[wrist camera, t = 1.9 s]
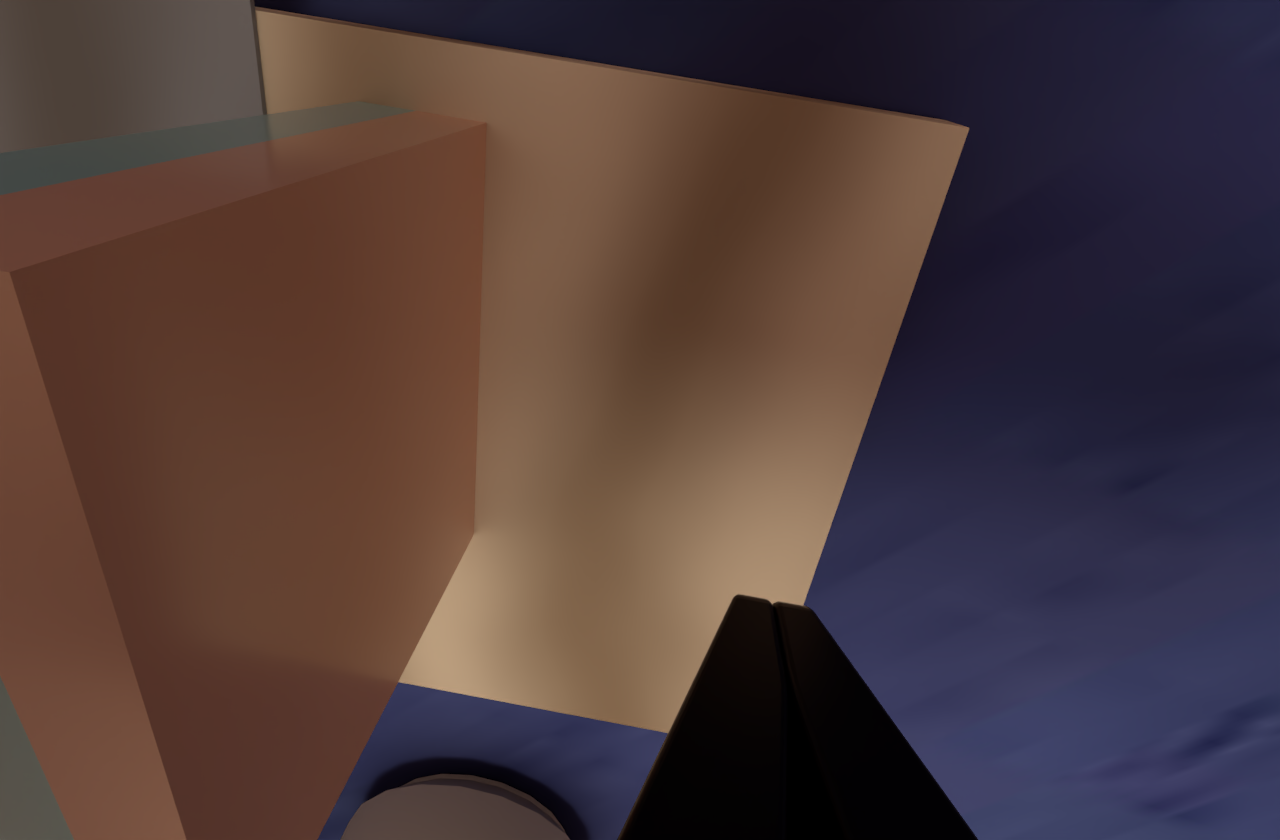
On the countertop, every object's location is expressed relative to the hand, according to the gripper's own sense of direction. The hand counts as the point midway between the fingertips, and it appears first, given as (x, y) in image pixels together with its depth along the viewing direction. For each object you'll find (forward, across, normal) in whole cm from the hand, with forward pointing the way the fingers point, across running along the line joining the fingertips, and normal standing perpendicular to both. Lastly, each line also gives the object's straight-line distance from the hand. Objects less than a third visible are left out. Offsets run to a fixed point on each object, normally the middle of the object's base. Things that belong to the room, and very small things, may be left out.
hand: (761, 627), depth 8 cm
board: (+6, +8, +2) cm, 10 cm away
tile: (+5, +6, 0) cm, 8 cm away
